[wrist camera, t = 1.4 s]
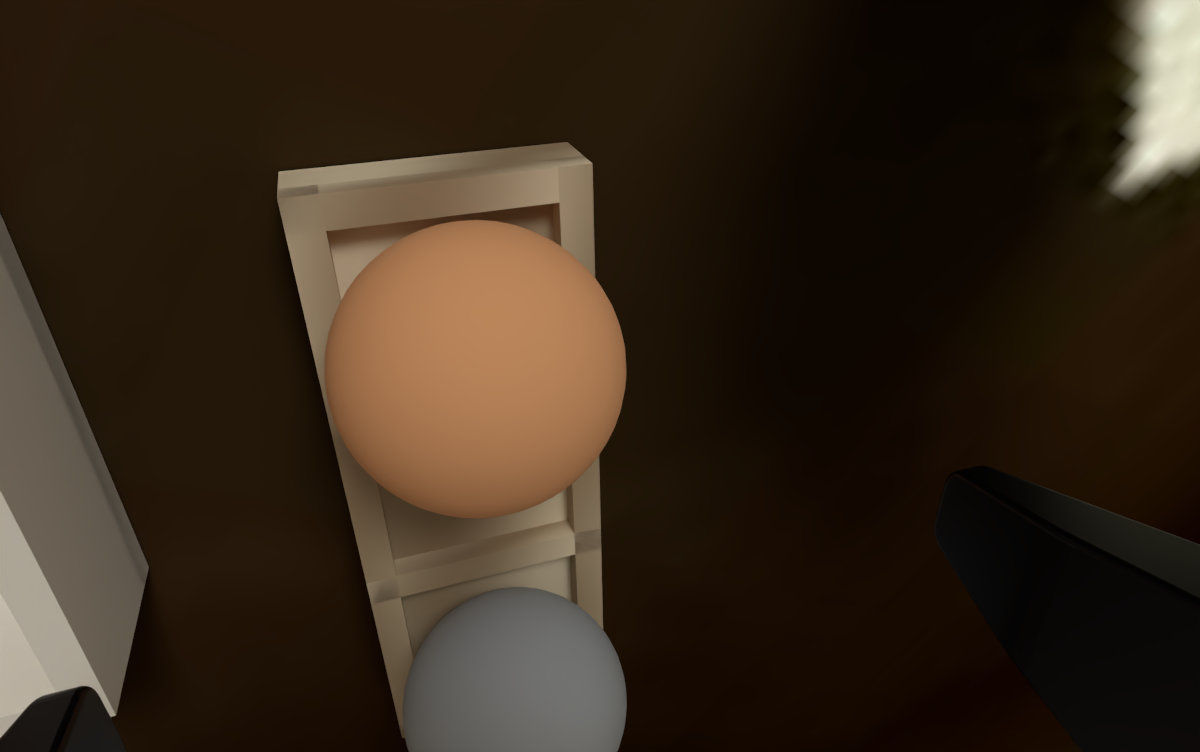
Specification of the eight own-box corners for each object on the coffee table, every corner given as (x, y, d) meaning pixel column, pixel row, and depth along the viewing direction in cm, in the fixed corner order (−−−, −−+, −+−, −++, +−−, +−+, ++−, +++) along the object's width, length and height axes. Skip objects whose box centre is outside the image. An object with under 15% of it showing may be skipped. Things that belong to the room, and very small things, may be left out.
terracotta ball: (572, 168, 14) (678, 266, 10) (580, 393, 16) (668, 541, 12) (293, 199, 13) (293, 324, 9) (346, 438, 15) (364, 617, 11)
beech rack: (567, 142, 14) (592, 163, 13) (586, 634, 21) (603, 678, 20) (278, 171, 13) (277, 198, 12) (395, 686, 20) (402, 738, 19)
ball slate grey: (585, 521, 18) (663, 686, 14) (590, 660, 20) (657, 832, 16) (376, 571, 17) (399, 765, 13) (407, 712, 19) (435, 910, 15)
